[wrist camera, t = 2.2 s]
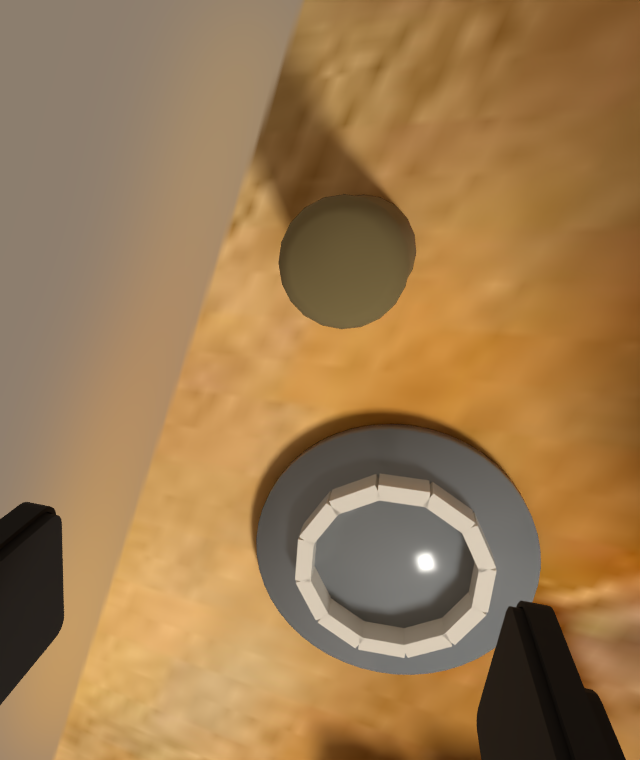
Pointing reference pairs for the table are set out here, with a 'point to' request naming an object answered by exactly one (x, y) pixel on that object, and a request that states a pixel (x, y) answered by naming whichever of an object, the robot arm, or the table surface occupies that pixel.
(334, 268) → the cork
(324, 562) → the round tray
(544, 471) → the table surface
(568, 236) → the table surface
